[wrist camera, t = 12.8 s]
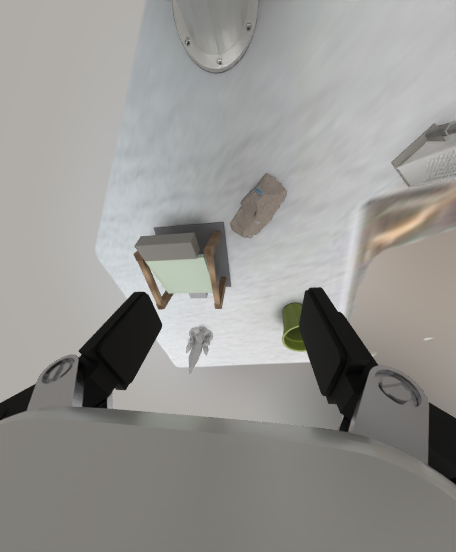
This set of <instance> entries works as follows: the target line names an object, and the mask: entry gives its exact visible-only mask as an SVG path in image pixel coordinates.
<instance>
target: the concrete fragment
mask: <svg viewBox="0 0 456 552" xmlns="http://www.w3.org/2000/svg"><path fill="white" fill-rule="evenodd" d="M286 195H287V191H286V189H285V188H284V187H283V186H282V184H281V183H279V182H278V181H276V180H275V178H274V177H272V176H270V175H269V174H265V175H264V177H263V178H262V180H261V181H260V182H259V184H258V185H257V186H256V187H255V189H254V190H252V191H251V192H250V193H249V194H248V195H247V196H246V197H245V199H243V200H242V202H241V204H242V207H241V208H240V210H239V211H238V213H237V214H236V216H235V217H234V219H233V221H232V222H231V228H232V230H233V231H234V232H236V233H238V234H239V235H241V236H242V237H249V238H252V236H253V235H256V234H258V233H259V232H260V231H261V229H262V228H263V227H264V226H266V225H267V224H268V223H269V221H270V220H271V219H272V217H273V215H274V214H275V212H276V211H277V209H278V208H279V207H280V204H281V203H282V202H283V201H284V199H285V197H286Z"/></svg>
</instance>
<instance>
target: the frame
mask: <svg viewBox="0 0 456 552" xmlns="http://www.w3.org/2000/svg"><path fill="white" fill-rule="evenodd" d="M220 238H221V233H220V231H214V232H213V234H212V236H211V238H210V239H209V241H208V243H207V245H206V247H205V248H204V254H205V257H206V259H207V264H208V269H209V275H210V280H211V285H212V290H213V295H214V301H215V303H214V305H215V309H222V304H223V298H224V293H225V287H226V282H227V279H226V277H221V279H220V283H219V287H218V282H217V276H216V269H215V263H214V257H213V255H214V253H215V250H216V248H217V245H218V243H219V240H220ZM134 256H135V259H136V261H138V263H139V266H140V268H141V270H142V272H143V275H144V277H145V279H146V281H147V283H148V286H149V288H150V290H151V292H152V295H153V297H154V299H155V301H156V305H157V307H158V309H165V307H166V305H167V304H168V302H169V300H170V299H171V297H172V295H173V294H174V293H168V292H167V291H165V293H164V294H163V296H162V297H161V294H160V292H159V290H158V287H157V285H156V282H155V280H154V278H153V275H152V273H151V270H150V268H149V266H148V265H147V263H146V262H145V260H144V259H143V257H142V256H141V255H140V253H139V252H138V251H137V252H135V253H134Z"/></svg>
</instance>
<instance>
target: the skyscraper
mask: <svg viewBox="0 0 456 552" xmlns="http://www.w3.org/2000/svg"><path fill="white" fill-rule="evenodd" d="M455 132H456V121H454V122H451V123H447V124H444V125H440V126H436V124H435V123H434V124H433V125H432V126H431V127H430V128H429V129H428V130H427V131H425V132H424V133H423V134H422V135H421V136H420V137H419V138H418V139H417V140H415V141H414V142H413V143H412V144H411V145H410V146H409V147H408V148H407V149H406V150H404V151H403V152H402V153H401V154H400V155H399V156H398V157H397V158H396V159H395V160H393V161H392V162H391V163H392V164H393V166H394V167H395V169H396V170H397V171H398V173H399V174H400V175H401V177H402V178H403V179H404V181H405V182H406V183H407V185H408V186H409V187H413V186H419V185H425V184H430V183H435V182H441V181H446V180H456V142H447V141H445V139H444V138H443V136H448V135H451V134H453V133H455Z"/></svg>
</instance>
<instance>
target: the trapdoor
mask: <svg viewBox="0 0 456 552" xmlns="http://www.w3.org/2000/svg"><path fill="white" fill-rule="evenodd" d="M135 248H136V249H137V250H138V252H139V253H140V255H141V256H142V257H143V259H144V260H145V262H146V263H147V265H148V266H149V267H150V269H151V270H152V271H153V273H154V274H155V276H156V277H157V278H158V280H159V281H160V282H161V284H162V285H163V287H164V288H165V289H166V291H167V292H168V293H213V290H212V285H211V280H210V275H209V269H208V264H207V260H206V257H205V254H199V250H200V248H199V245H198V242H197V239H196V236H195V233H194V232H193V233H180V234H166V235H153V236H141V237H140V239H139V240H138V242H137V243H136V245H135ZM198 254H199V255H198Z"/></svg>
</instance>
